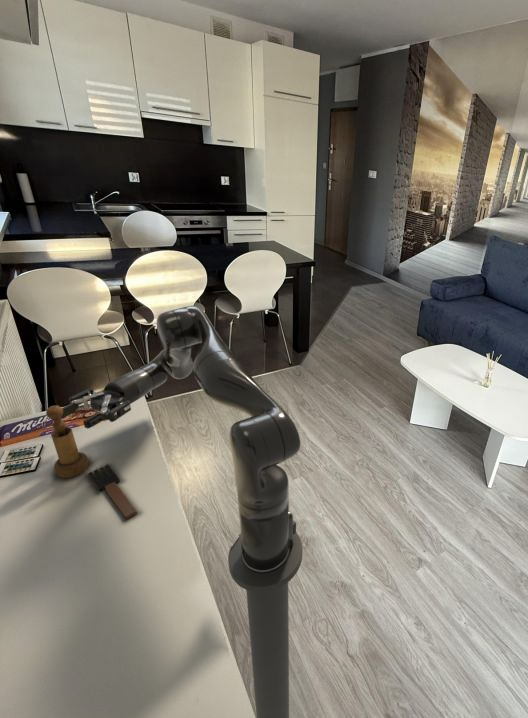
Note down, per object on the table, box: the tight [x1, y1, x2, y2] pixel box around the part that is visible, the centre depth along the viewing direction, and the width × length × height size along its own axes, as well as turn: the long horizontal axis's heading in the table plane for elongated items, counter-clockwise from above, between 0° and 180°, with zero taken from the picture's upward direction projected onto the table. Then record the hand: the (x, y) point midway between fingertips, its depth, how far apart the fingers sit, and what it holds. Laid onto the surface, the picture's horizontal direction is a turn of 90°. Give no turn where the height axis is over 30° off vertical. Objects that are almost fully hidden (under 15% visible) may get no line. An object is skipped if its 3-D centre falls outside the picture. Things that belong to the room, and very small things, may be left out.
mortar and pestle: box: [45, 405, 89, 479], centre depth 92 cm, size 7×6×18 cm
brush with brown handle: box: [87, 464, 138, 520], centre depth 90 cm, size 19×4×1 cm, turn 49°
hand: (71, 420), depth 93 cm, fingers open, 8 cm apart
